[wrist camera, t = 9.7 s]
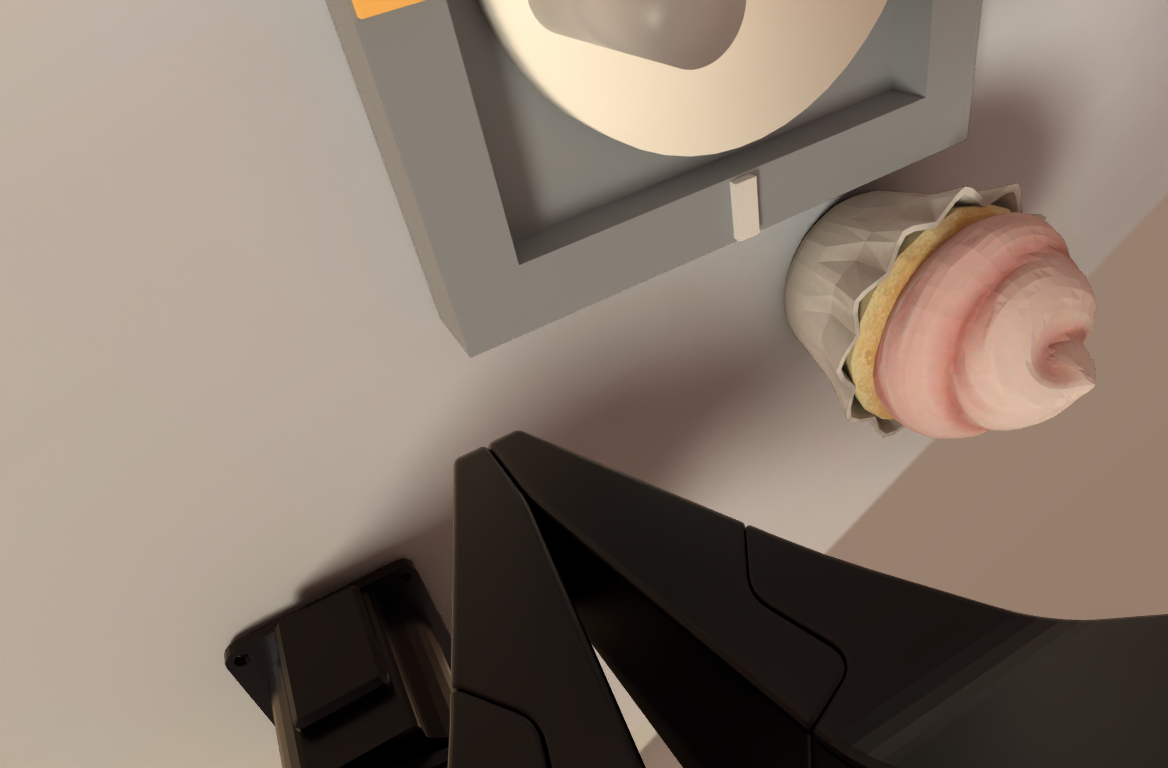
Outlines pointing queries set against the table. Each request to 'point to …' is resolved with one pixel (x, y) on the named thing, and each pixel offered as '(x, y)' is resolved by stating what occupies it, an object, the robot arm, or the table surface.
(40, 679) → the table surface
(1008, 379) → the cupcake
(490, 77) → the dial panel
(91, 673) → the table surface
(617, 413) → the table surface
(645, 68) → the dial
